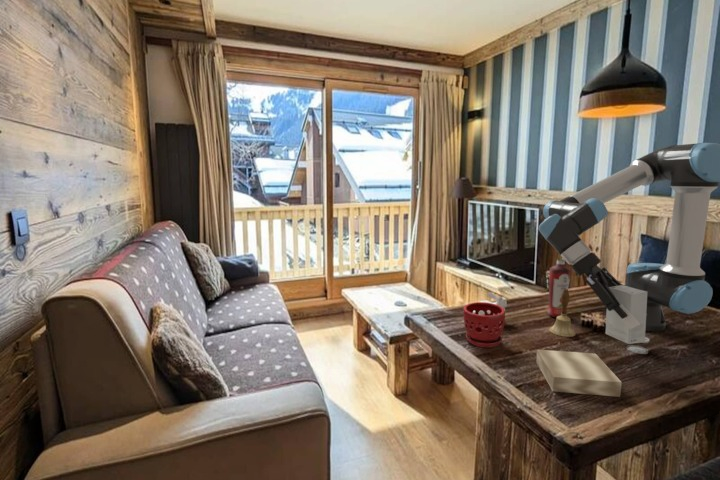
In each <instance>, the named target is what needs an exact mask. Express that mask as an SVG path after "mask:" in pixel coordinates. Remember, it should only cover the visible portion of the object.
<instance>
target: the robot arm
mask: <svg viewBox="0 0 720 480" xmlns="http://www.w3.org/2000/svg"><path fill="white" fill-rule="evenodd" d="M662 181H663V182H664V181H670V183H669V184H670V185H669V187H670V188H671V189H672V190H673V191H674V193H675V194H674V201H673V206H672V207H673V209H672V216H671V217H672V218H671V223H670V224H671V225H670V231H669V238H668V239H669V240H668V245H667V246H668V247H667V252H666V253H667V254H666V263H665V264H664V263H655V262H633V263H630V264H628V265H627V269H626V272H625V281H624V286H628V287H631V288H635V289H639V290H643V291H646V292H647V310H646V329H645V332H661V331H665V329H666V325H667V324H666V323H667V322H666V319H665V314H664V312H663V306H664V307H666V308H668V309H672V310H673V311H676V312H679V313H683V314H688V315H689V314H695V313H698V312H701V311H702V310H703V309H705V308H706V307H707V306H708V304H710V302H711V300H712V299H713V298H712V297H713V292H714V291H713V287H712V286H711V285H710V283H708V282H707V281H706V280H705V278H706V272H705V271H704V270H703V269H702V268H701V260H702V254H703V246H704V240H705V233H706V227H707V222H708V221H707V220H708V213H709V207H710V206H709V205H710V200H711V199H710V198H711V193H713V191H715V190H717V189H718V188H719V183H720V143H716V142H698V143H688V144H687V143H686V144H674V145H667V146H664V147H661V148H659V149H657V150H654V151H652V152H650V153H648V154H645V155H643V156H641V157H639V158H637V159H635V160H632V162H631V163H629V166H627V167H625V168H624V169H621V170H619V171H618V172H615V173H613V174H611V175H610V176H608V177H605V178H604V179H601V180H599V181H598V182H595V183H593V184H591V185H589V186H587V187H585V188H583V189H581V190H578V191H577V192H575V193H573V194H571V195H569V196H567V197H565V198H563V199H560V200H550V201H549V202H547V203H546V204H545V205H544V207H543V209H542V213H543V217H544V218H545V219H544V220H542V222H541V223H540V224H539V225H538V229H537V230H538V231H539V232H540V234H541V235H542V237H543V238H544V239H545V241H547V242H548V243H549V244H550V245H551V246H552V247H553V248H554V250H555V251H556V252H557V254H558V253H559V254H560V255H561V256H562V257H563V258H562V260H565V262H566V263H567V264H568V265H571V269H572V270H573V271H574V272H575V274H577V275H578V276H583V275H585V276H586V279H584V282H585V283H586V284H587V286H589V287H590V289H592V291H593V292H594V293H595V295H596V296H597V297H598V299H599V300H600V302H601V303H602V304H603V305H604V307H605V308H606V310H607V309H608V310H609V311H611V310H613V311H614V312H615V313H616V314H617V315H618V316H619V317H620V318H621V320H622V321H623V322H624V323H625V324H626V325H627V326H628V327H629V328H630V330H631V329H632V328H634V327H636V326H638V325H640V323H639V322H638V321H637V320H636V319H635V318H634V317H633V316H632V315H631V313H630V312H629V311H628V310H627V309H626V308H625V307H624V306H623V305H622V304H621V305H620V303H619V302H618V301H617V299H616V298H615V296H614V295H613V293H612V292H611V290H610V289H609V287H612V286H619V285H623V284H622V283H621V282H620V281H619V280H617V278H616V277H615V276H613V275H612V274H611V273H610V272H609V271H608V269H607V268H606V267H602V268H600V267H599V266H598V265H599V264H600V263H601V262H602V261H601V258H599V256H597V254H596V253H594V252H593V251H592V252H591V248H590V247H589V246H588V245H587V244H586V243H585V242H584V241H583V239H582V238H580V235H582V234H583V233H585V232H586V231H589V230H590V229H591V228H593V227H594V226H596V225H597V224H600V222H601V221H603V220H604V219H606V217H608V208H607V207H606V205H605V204H606V203H608V202H609V201H612V200H614V199H616V198H619V197H620V196H622V195H624V194H626V193H628V192H630V191H633V190H635V189H636V188H638V187H640V186H644V187H646V186H649V185H652V184H653V183H657V182H662Z"/></svg>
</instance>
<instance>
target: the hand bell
mask: <svg viewBox="0 0 720 480" xmlns="http://www.w3.org/2000/svg"><path fill="white" fill-rule="evenodd" d="M561 303H562V312H561V316H557V317H555V322H554V324H553V325H552V326H550V328H549V332H550V333H551V334H552V335H556V336H557V337H564V338H571V337H572V338H573V337H576V332H575V330H573V327H572V322H571V321H572V320H571V318H570V317H569V316H568V315H567V313H568V305H569V303H570V292H569V288H568V289H564V291H563V293H562V295H561Z"/></svg>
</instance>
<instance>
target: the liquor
mask: <svg viewBox="0 0 720 480" xmlns="http://www.w3.org/2000/svg"><path fill="white" fill-rule="evenodd" d="M562 258H563V257H562V256H561V255H560V254H559V253H558V252H557V259H556V264H555V265H553V266H551V267H549V277H548V278H549V281H548V284H549V285H548V305H547V306H548V309H547V310H546V312H547V314H548V315H549V316H550V317H552V318H557V316H561V312H562V303H561V295H562V293H563V291H564V289H568V290H569V287H570V286H569V285H570V278H571V271H572V270H571V269H570V268H569V267H567V266H565V265H566V264H565V262H566V261H565V260H562Z"/></svg>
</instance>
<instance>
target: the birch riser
mask: <svg viewBox="0 0 720 480" xmlns="http://www.w3.org/2000/svg"><path fill="white" fill-rule="evenodd" d="M535 362H536V365H537V366H538V368H539V370H540V371H541V373H542V375H543V377H544V379H545V380H546V382H547V383H548V385H549V388H550V389H551V391H552V392H558V393H559V392H560V393H568V394H569V393H572V394H582V395H583V394H584V395H595V396H597V395H598V396H605V397H615V398H617V397H619V398H620V397H621V392H622V383H623V382H622V381H621V380H620V379H619V378H618V376H617V375H616V374H615V373H614V372H613V371H612V369H610V368H609V366H607V365H606V363H605V362H604V361H603V360H602V359H601V358H600V357H599V356H598V354H596V353H595V352H594V353H591V352H581V351H580V352H576V351H563V350H548V349H536V360H535Z"/></svg>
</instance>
